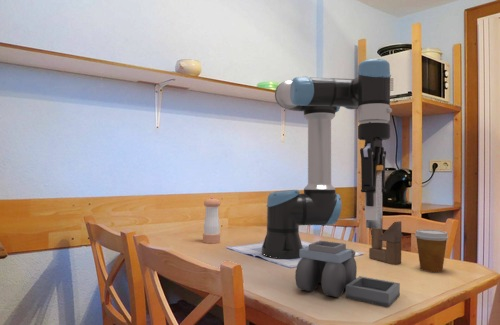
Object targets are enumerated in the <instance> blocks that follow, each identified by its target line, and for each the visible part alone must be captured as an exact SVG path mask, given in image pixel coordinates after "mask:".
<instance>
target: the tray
mask: <svg viewBox="0 0 500 325" xmlns="http://www.w3.org/2000/svg"><path fill="white" fill-rule="evenodd" d="M400 285H401V284H400V282H395V281H390V280H384V279H378V278H373V277H367V276H358V277H356V279H355V280H353V281H352V282H350V283H349V284H347V285H346V288H345V299H349V300H353V301H358V302H363V303H367V304H372V305H377V306H381V307H386V308H390V307H391V305H392V304H393V303H394V302H395V301H396V300H397V299H398V298H399V297H400V287H401V286H400Z"/></svg>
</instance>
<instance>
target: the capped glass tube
mask: <svg viewBox="0 0 500 325" xmlns="http://www.w3.org/2000/svg"><path fill="white" fill-rule="evenodd" d="M376 170H377V176H376V192H375V193H377V221H375V220H365V228H366V229H372V228H374V229H379V228H382V229H383V226H382V209H383V192H382V170H383V165H377V166H376Z"/></svg>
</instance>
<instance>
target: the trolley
mask: <svg viewBox="0 0 500 325" xmlns="http://www.w3.org/2000/svg"><path fill="white" fill-rule="evenodd" d="M346 247H347V244H346V243H343V242H335V241H328V240H327V241H326V240H317V241H315V242H311V243H310V244H309V243H308V246H305V247H303V248H302V249H300V251H299V257H298V258H300V260H299V261H298V263H297V265H296V268H295V284H296V287H297V289H299V290H301V291H306V292H311V293H312V292H315V290H316V289H317V288H318V284H321V289H322V292H323V294H324V295H325V296H330V297H334V298H340V297H341V296H342V295H343V294H344V290H345V289H346V285H347V284H349V283H350V282H352V281H353V280H355V279H356V278H357V261H356V259H355V257H354V258H353V257H352V250H353V249H351V250H348V249H349V248H346Z"/></svg>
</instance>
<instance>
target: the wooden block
mask: <svg viewBox="0 0 500 325" xmlns="http://www.w3.org/2000/svg"><path fill="white" fill-rule="evenodd" d="M383 211H384V209H383V208H382V228H379V229H374V228H371V247H370V248H369V250H368V251H369V252H368V253H369V254H368V255H369V256H368V257H369V259H371V260H376V261H380V262H384V263H387V264H390V265H394V266H395V265H400V264H402V221H401V220H400V221H393V223H392V224H391V225H390V226H389V227H388V228H387V229H386V230H385V231H384V232H383V227H384V226H383V219H384V218H383V213H384V212H383ZM383 242H385V248H383Z"/></svg>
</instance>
